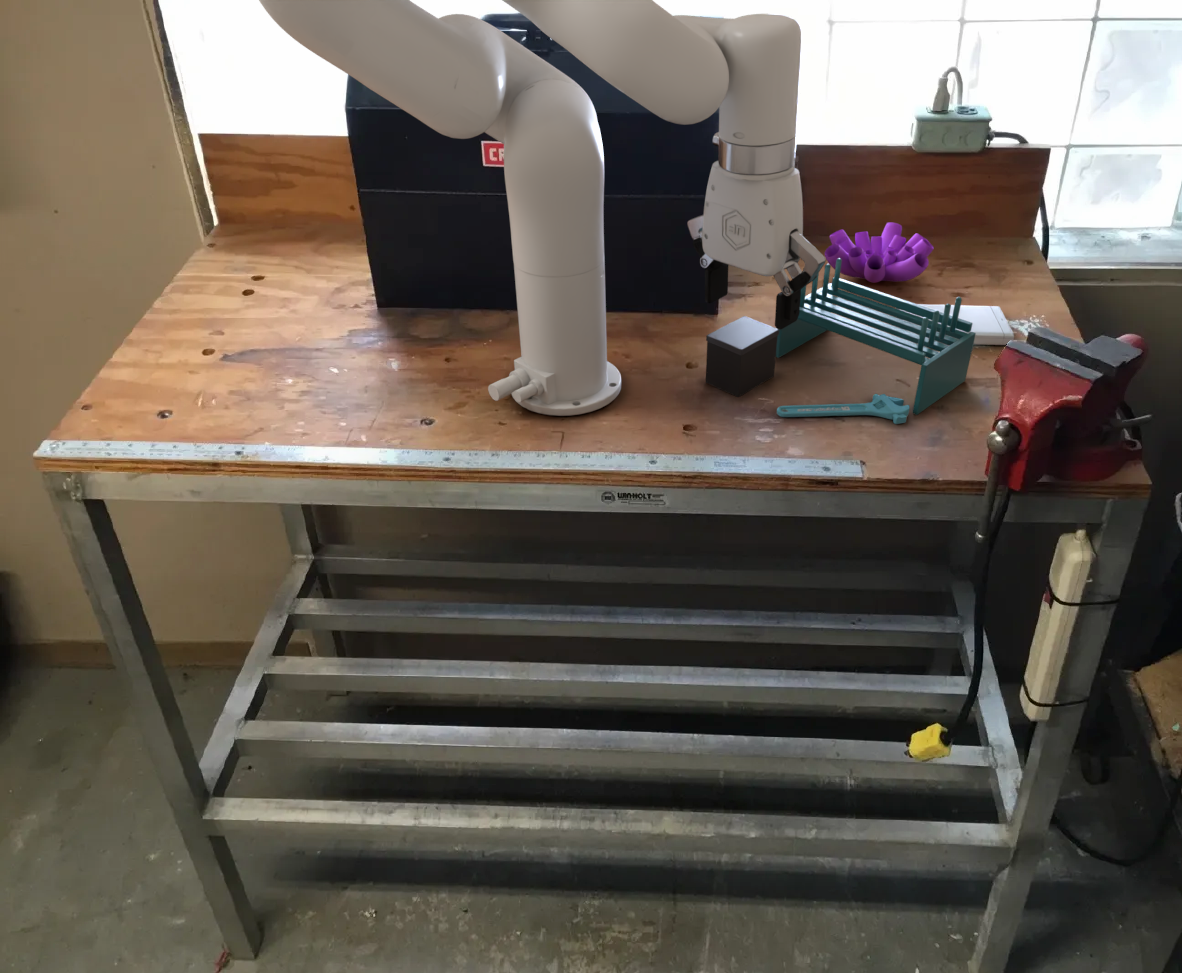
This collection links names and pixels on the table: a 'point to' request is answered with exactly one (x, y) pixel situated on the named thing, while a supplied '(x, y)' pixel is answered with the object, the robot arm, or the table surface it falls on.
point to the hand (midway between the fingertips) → (750, 311)
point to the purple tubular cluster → (880, 255)
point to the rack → (935, 372)
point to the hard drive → (980, 323)
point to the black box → (741, 355)
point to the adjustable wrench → (852, 409)
